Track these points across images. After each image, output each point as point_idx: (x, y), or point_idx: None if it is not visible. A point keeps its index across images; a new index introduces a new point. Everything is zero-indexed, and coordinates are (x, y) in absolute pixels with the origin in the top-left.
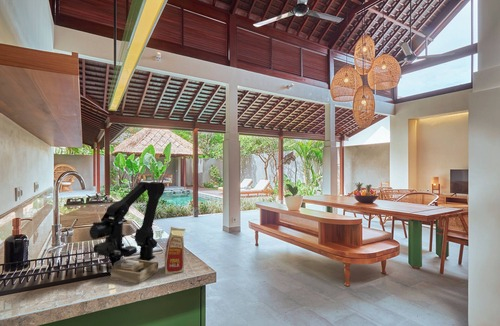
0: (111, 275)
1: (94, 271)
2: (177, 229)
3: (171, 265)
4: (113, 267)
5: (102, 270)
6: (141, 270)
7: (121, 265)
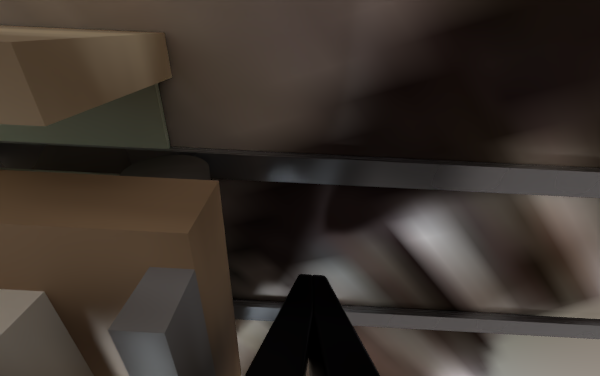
0: (109, 32)
1: (584, 198)
2: None
3: None
4: (165, 219)
5: (480, 243)
6: None
7: (20, 301)
